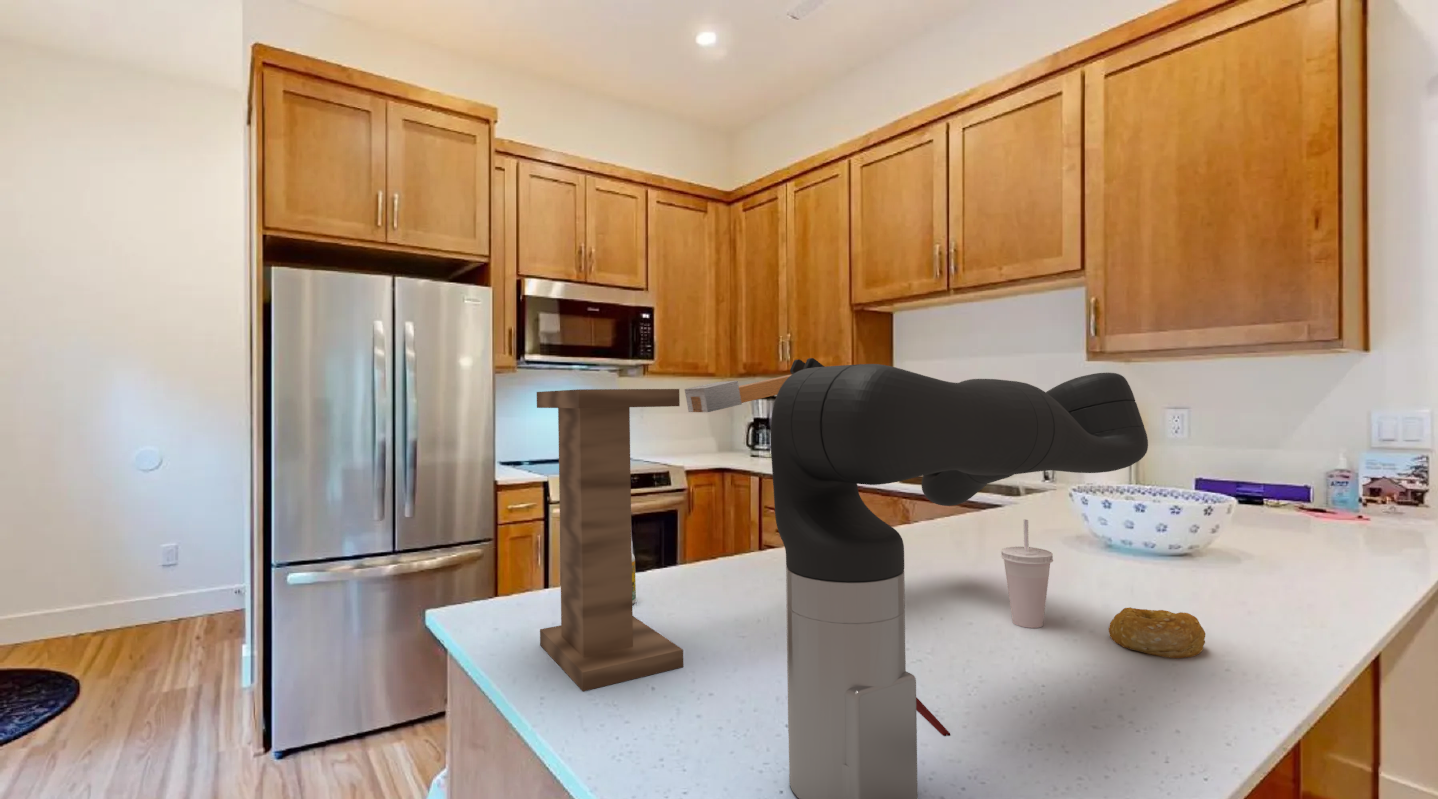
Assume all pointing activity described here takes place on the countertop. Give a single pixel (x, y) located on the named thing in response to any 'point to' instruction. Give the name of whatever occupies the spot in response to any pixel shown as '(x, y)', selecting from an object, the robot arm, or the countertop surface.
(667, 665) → the wooden pedestal
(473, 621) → the countertop surface
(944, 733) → the chopstick
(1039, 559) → the smoothie
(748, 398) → the wooden handled hammer
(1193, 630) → the bagel
